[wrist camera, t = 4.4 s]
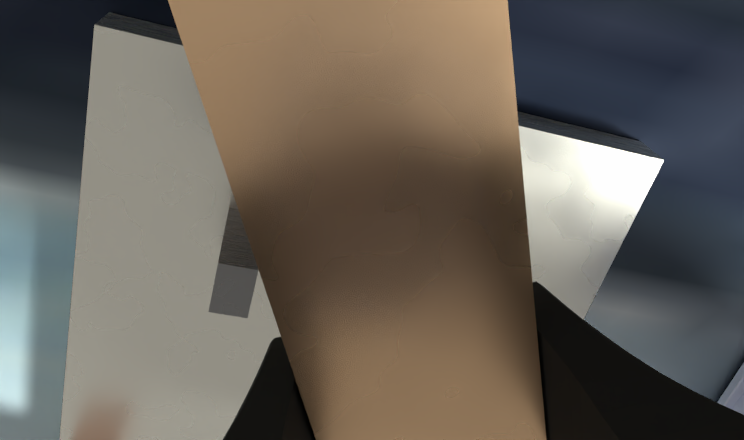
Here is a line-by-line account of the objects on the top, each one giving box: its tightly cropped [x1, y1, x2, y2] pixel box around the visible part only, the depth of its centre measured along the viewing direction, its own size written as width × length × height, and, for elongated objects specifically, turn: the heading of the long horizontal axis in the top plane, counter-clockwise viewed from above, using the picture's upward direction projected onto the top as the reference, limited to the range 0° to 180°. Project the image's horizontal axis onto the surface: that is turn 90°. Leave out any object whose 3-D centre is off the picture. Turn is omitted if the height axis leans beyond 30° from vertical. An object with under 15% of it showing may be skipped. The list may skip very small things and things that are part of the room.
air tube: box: [168, 0, 547, 440], centre depth 14 cm, size 18×4×4 cm, turn 11°
